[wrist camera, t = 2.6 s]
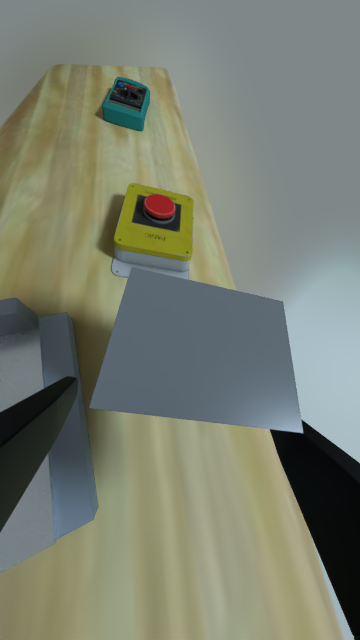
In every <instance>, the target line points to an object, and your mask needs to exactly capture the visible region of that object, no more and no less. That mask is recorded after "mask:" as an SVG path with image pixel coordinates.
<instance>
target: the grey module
mask: <svg viewBox="0 0 360 640" xmlns="http://www.w3.org/2000/svg"><path fill="white" fill-rule="evenodd" d="M89 408H93V409H102V410H110V411H119V412H127V413H136V414H144V415H153V416H161V417H170V418H179V419H187V420H196V421H204V422H213V423H221V424H230V425H239V426H247V427H256V428H264V429H273V430H281V431H290V432H299V433H303V428H302V422H301V415H300V409H299V403H298V396H297V389H296V383H295V376H294V370H293V364H292V358H291V351H290V345H289V338H288V331H287V325H286V319H285V313H284V306H283V302H282V301H278V300H273V299H269V298H265V297H260V296H257V295H252V294H248V293H243V292H239V291H235V290H231V289H226V288H222V287H217V286H213V285H209V284H204V283H200V282H196V281H191V280H187V279H183V278H178V277H174V276H170V275H165V274H161V273H157V272H152V271H148V270H144V269H139V268H135V267H131V271H130V274H129V277H128V280H127V284H126V287H125V290H124V294H123V297H122V300H121V304H120V307H119V310H118V313H117V317H116V320H115V323H114V327H113V330H112V333H111V337H110V340H109V343H108V347H107V350H106V353H105V356H104V360H103V363H102V366H101V370H100V373H99V376H98V380H97V383H96V386H95V389H94V393H93V396H92V399H91V403H90V406H89Z"/></svg>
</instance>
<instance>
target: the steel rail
mask: <svg viewBox="0 0 360 640" xmlns="http://www.w3.org/2000/svg"><path fill="white" fill-rule="evenodd" d="M38 319H39V329H34V330H29V331H24V332H19V333H14V334H9V335H4V336H0V412H1V411H3V410H5V409H7V408H9V407H11V406H12V405H14V404H16V403H18V402H20V401H22V400H23V399H25V398H27V397H29V396H31V395H33V394H34V393H36V392H38V391H40V390H42V389H44V388H45V387H46V382H45V369H44V356H43V342H42V329H41V317H40V316H39V315H38ZM56 540H57V527H56V514H55V501H54V487H53V474H52V461H51V449H50V451H49V452H48V454H47V456H46V457H45V459H44V461H43V462H42V464H41V466H40V467H39V469H38V471H37V472H36V474H35V476H34V477H33V479H32V481H31V482H30V484H29V486H28V487H27V489H26V491H25V492H24V494H23V496H22V497H21V499H20V501H19V502H18V504H17V506H16V507H15V509H14V511H13V512H12V514H11V516H10V517H9V519H8V521H7V522H6V524H5V526H4V527H3V529H2V531H1V532H0V573H1V572H3V571H5V570H7V569H9V568H11V567H12V566H14V565H16V564H18V563H20V562H22V561H24V560H25V559H27V558H29V557H31V556H33V555H35V554H37V553H38V552H40V551H42V550H44V549H46V548H48V547H50V546H51V545H53V544H55V542H56Z"/></svg>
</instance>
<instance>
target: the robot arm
mask: <svg viewBox="0 0 360 640" xmlns="http://www.w3.org/2000/svg"><path fill="white" fill-rule="evenodd" d="M77 393H78V378H77V377H72V376H66V377H64V378H62V379H60V380H58V381H56V382H55V383H53V384H51V385H49V386H47V387H45V388H44V389H42V390H40V391H38V392H36V393H34V394H33V395H31V396H29V397H27V398H25V399H23V400H22V401H20V402H18V403H16V404H14V405H12V406H11V407H9V408H7V409H5V410H3V411H1V412H0V532H1V531H2V529H3V527H4V526H5V524H6V522H7V521H8V519H9V517H10V516H11V514H12V512H13V511H14V509H15V507H16V506H17V504H18V502H19V501H20V499H21V497H22V496H23V494H24V492H25V491H26V489H27V487H28V486H29V484H30V482H31V481H32V479H33V477H34V476H35V474H36V472H37V471H38V469H39V467H40V466H41V464H42V462H43V461H44V459H45V457H46V456H47V454H48V452H49V451H50V449H51V447H52V446H53V444H54V442H55V441H56V439H57V437H58V435H59V433H60V431H61V429H62V427H63V425H64V423H65V421H66V419H67V416H68V414H69V412H70V410H71V408H72V406H73V404H74V402H75V400H76V397H77ZM301 422H302V428H303V433H299V432H290V431H281V430H273V429H270V431H271V435H272V438H273V441H274V444H275V447H276V450H277V453H278V456H279V459H280V461H281V464H282V466H283V469H284V471H285V473H286V476H287V478H288V481H289V483H290V485H291V488H292V490H293V493H294V495H295V497H296V500H297V502H298V505H299V507H300V509H301V512H302V514H303V517H304V519H305V521H306V524H307V526H308V529H309V531H310V533H311V536H312V538H313V541H314V543H315V546H316V548H317V550H318V553H319V555H320V558H321V560H322V562H323V565H324V567H325V569H326V572H327V574H328V577H329V579H330V581H331V584H332V586H333V589H334V591H335V594H336V596H337V598H338V601H339V603H340V606H341V608H342V610H343V613H344V615H345V617H346V620H347V622H348V625H349V627H350V630H351V632H352V634H353V636H354V640H360V463H359V462H357V461H356V460H355V459H353V458H352V457H351V456H349V455H348V454H347V453H345V452H344V451H343V450H341V449H340V448H339V447H337V446H336V445H335V444H333V443H332V442H331V441H329V440H328V439H327V438H325V437H324V436H323V435H321V434H320V433H319V432H317V431H316V430H315V429H313V428H312V427H311V426H309V425H308V424H307V423H305V422H304V421H303V420H302V419H301Z"/></svg>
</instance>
